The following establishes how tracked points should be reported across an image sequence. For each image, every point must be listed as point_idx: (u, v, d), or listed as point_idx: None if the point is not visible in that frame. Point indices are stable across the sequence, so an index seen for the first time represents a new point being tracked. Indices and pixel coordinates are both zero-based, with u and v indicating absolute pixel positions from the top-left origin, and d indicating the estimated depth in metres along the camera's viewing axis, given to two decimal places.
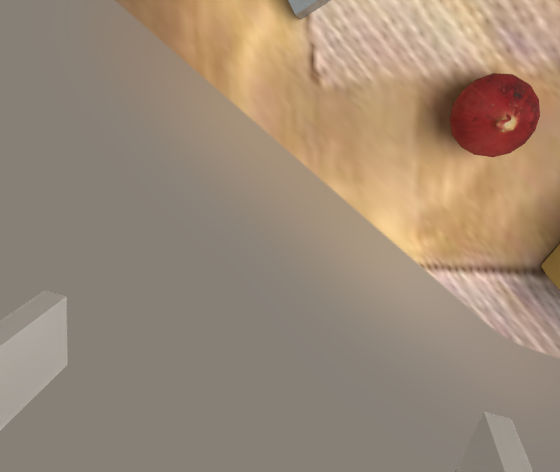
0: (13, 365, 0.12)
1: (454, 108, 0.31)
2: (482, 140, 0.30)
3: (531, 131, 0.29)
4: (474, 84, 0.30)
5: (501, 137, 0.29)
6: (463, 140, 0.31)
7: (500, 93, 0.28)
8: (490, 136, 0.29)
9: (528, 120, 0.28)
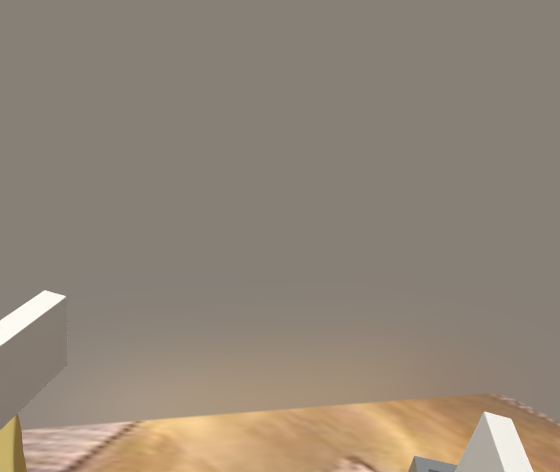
0: (13, 365, 0.12)
1: None
2: None
3: None
4: None
5: None
6: None
7: None
8: None
9: None
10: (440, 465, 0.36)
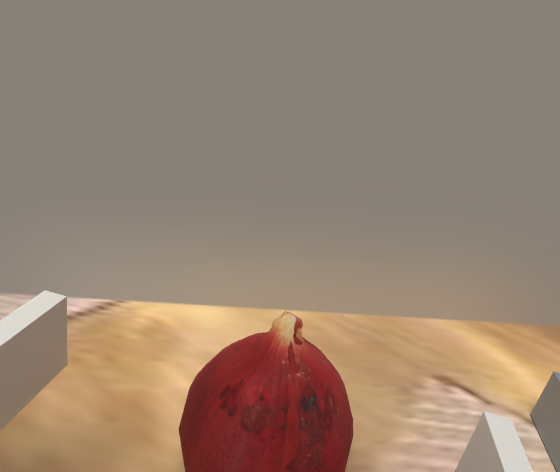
0: (13, 365, 0.12)
1: None
2: None
3: (213, 393, 0.13)
4: None
5: (260, 335, 0.14)
6: None
7: (332, 388, 0.13)
8: None
9: (250, 378, 0.13)
10: None
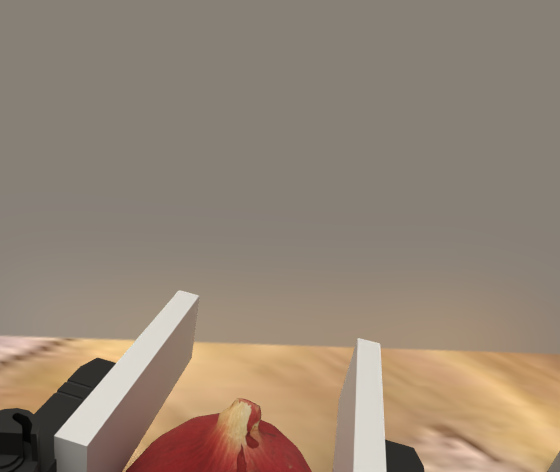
0: (169, 357, 0.13)
1: None
2: None
3: None
4: None
5: (207, 424, 0.11)
6: None
7: None
8: None
9: None
10: None
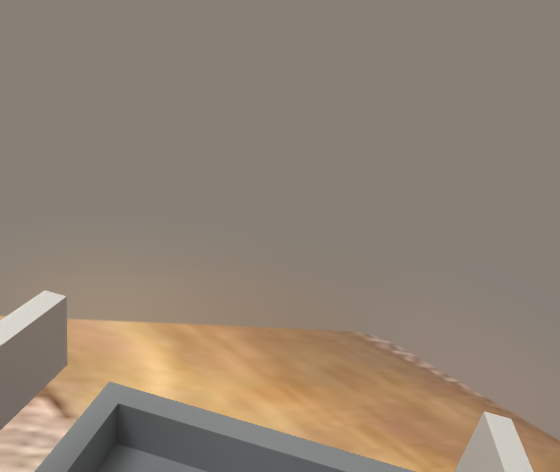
0: (13, 365, 0.12)
1: None
2: None
3: None
4: None
5: None
6: None
7: None
8: None
9: None
10: (148, 400, 0.19)
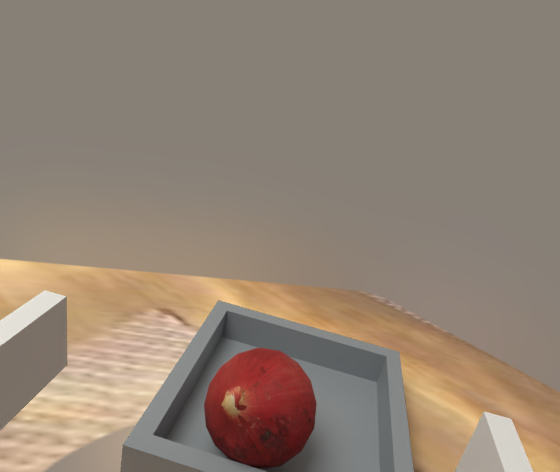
0: (13, 365, 0.12)
1: (293, 361, 0.23)
2: (231, 369, 0.21)
3: (214, 437, 0.21)
4: (310, 395, 0.21)
5: (223, 391, 0.20)
6: (247, 352, 0.22)
7: (279, 413, 0.20)
8: (231, 379, 0.20)
9: (226, 435, 0.20)
10: (243, 310, 0.32)
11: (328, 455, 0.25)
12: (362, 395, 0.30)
